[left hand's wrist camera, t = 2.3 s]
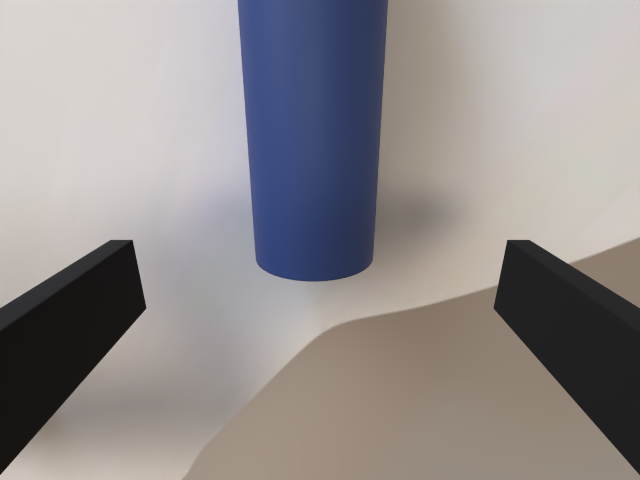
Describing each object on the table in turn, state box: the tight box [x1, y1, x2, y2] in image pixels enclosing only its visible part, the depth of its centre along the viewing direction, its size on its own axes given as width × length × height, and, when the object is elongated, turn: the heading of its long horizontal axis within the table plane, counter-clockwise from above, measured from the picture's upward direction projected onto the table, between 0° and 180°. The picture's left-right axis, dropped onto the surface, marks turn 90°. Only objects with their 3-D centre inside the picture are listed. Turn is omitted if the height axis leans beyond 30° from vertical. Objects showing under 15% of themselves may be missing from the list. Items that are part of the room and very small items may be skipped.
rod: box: [238, 0, 388, 281], centre depth 21 cm, size 24×8×8 cm, turn 0°
